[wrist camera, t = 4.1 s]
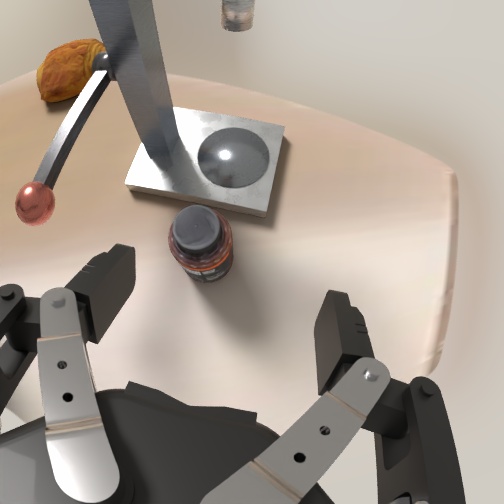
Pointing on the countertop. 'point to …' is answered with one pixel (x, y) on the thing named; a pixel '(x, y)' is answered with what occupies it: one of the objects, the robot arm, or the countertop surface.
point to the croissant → (67, 69)
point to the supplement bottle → (202, 243)
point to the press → (186, 119)
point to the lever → (62, 147)
